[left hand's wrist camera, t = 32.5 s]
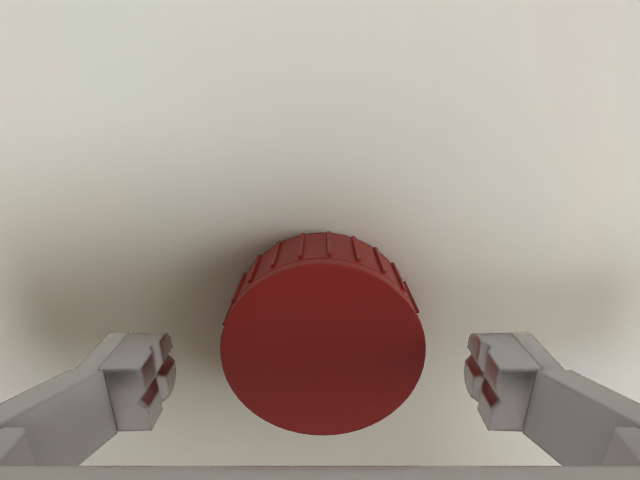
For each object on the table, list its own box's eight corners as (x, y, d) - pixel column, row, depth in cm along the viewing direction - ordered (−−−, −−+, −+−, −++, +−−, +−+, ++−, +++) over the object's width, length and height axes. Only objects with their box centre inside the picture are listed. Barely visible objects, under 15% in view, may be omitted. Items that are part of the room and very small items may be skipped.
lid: (242, 382, 14) (227, 438, 11) (227, 230, 12) (205, 261, 9) (402, 382, 14) (419, 437, 11) (415, 229, 12) (438, 259, 9)
